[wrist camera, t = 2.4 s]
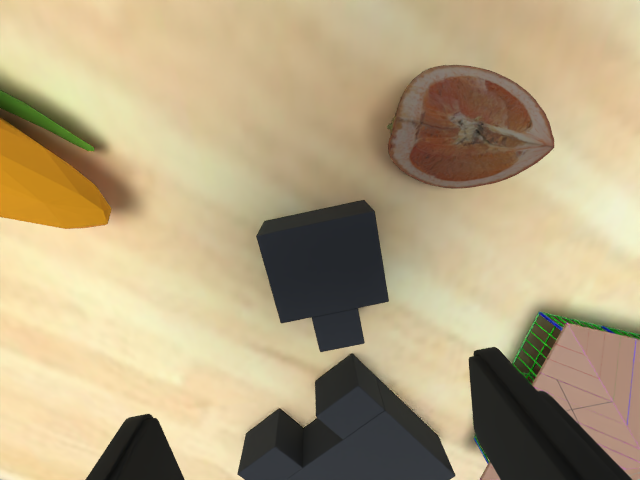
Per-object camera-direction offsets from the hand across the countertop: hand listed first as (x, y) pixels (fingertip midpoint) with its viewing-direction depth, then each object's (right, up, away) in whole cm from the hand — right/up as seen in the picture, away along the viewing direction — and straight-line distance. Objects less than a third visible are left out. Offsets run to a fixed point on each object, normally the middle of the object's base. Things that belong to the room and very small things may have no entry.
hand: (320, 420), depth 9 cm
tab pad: (0, +3, +14) cm, 14 cm away
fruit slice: (+8, +12, +11) cm, 18 cm away
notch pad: (+2, -12, +18) cm, 22 cm away
